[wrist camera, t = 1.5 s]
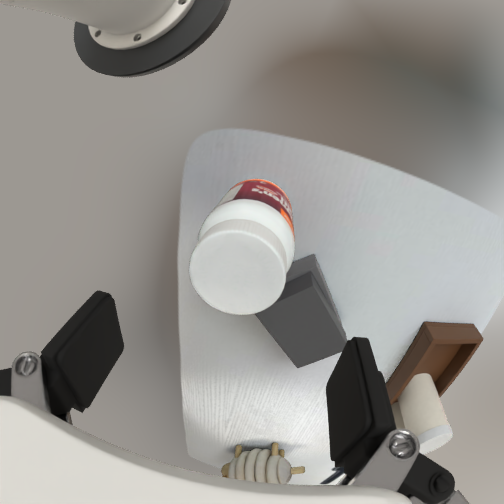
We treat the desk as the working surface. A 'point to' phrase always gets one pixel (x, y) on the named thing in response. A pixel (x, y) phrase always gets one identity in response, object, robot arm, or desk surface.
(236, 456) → the toy sheep
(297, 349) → the grey books
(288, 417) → the desk surface
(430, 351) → the tray
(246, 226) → the pill bottle
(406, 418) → the white bottle
